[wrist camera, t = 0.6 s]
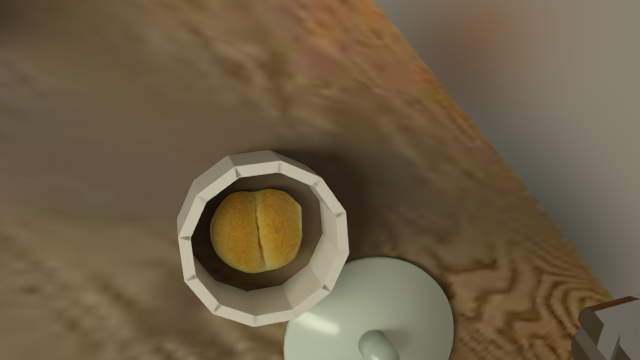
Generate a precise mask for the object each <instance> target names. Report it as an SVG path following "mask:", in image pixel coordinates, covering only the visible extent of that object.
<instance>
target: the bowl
mask: <svg viewBox="0 0 640 360" xmlns="http://www.w3.org/2000/svg"><path fill="white" fill-rule="evenodd" d="M277 172H280V173H282V174H284V175H287V176H289V177H292V178H294V179H297V180H299V181H301V182H304V183H306V184H308V186H309V187H310V188H311V190H312V191H313V192H314V194H315V195H316V196H317V198H318V199H319V201H320V211H321V223H322V236H321V238H320V240H319V242H318V244H317V247H316V249H315V251H314V253H313V255H312V258H311V260H310V262H309V264H308V265H307V266H306V267H304V268H303V269H302V270H300V271H299V272H298V273H296V274H295V275H294V276H293V277H291V278H290V279H289V280H287V281H286V282H285V283H283V284H282V285H280V286H274V287H268V288H263V289H257V290H251V291H245V290H242V289H239V288H236V287H233V286H230V285H227V284H224V283H221V282H218V281H215V280H214V279H213V278H212V276H211V275H210V274H209V273H208V272H207V270H206V269H205V268H204V267H203V266H202V265H201V263H200V262H199V261H198V260H197V259H196V257H195V256H194V255H193V251H192V244H191V236H192V234H193V232H194V229H195V227H196V225H197V223H198V220H199V218H200V216H201V213H202V211H203V209H204V206H205V204H206V202H207V201H209V200H210V199H211V198H213V197H214V196H215V195H217V194H218V193H219V192H221V191H222V190H223V189H225V188H226V187H227V186H229V185H230V184H231V183H233V182H234V181H235V180H237V179H238V178H240V177H247V176H255V175H262V174H270V173H277ZM177 226H178V240H179V246H180V253H181V260H182V267H183V274H184V281H185V282H186V283H187V285H188V286H189V287H190V288H191V289H192V290H193V292H194V293H195V294H196V295H197V296H198V297H199V298H200V300H201V301H202V302H203V303H204V304H205V305H206V307H207V308H208V309H209V310H210V311H211V312H212V313H213V314H215V315H218V316H221V317H225V318H228V319H231V320H234V321H237V322H240V323H243V324H246V325H249V326H253V327H256V326H261V325H267V324H272V323H277V322H282V321H288V320H293V319H297V318H298V317H300V316H301V315H302V314H304V313H305V312H306V311H307V310H309V309H310V308H311V307H313V306H314V305H315V304H316V303H318V302H319V301H320V300H322V299H323V298H324V297H325V296H327V295H328V294H329V293H331V291H332V289H333V287H334V285H335V283H336V281H337V278H338V276H339V274H340V272H341V270H342V268H343V265H344V263H345V261H346V259H347V257H348V255H349V246H348V233H347V220H346V211H345V210H344V208H343V207H342V206H341V204H340V203H339V202H338V200H337V199H336V197H335V196H334V195H333V193H332V192H331V190H330V189H329V188H328V186H327V185H326V183H325V182H324V181H323V179H322V178H321V177H320V176H319V175H317V174H316V173H315V172H314V171H313V170H311V169H310V168H309V167H308V166H306V165H304V164H302V163H299V162H297V161H295V160H292V159H290V158H287V157H285V156H283V155H280V154H278V153H276V152H273V151H271V150H265V151H257V152H249V153H241V154H233V155H227V156H226V157H225V158H223V159H222V160H221V161H219V162H218V163H217V164H215V165H214V166H213V167H211V168H210V169H209V170H207V171H206V172H205V173H203V174H202V175H201V176H199V177H198V178H196V179H195V180H194V181H193V183H192V186H191V188H190V190H189V192H188V195H187V197H186V199H185V202H184V204H183V206H182V209H181V211H180V213H179V216H178V218H177Z"/></svg>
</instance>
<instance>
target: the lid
mask: <svg viewBox="0 0 640 360" xmlns="http://www.w3.org/2000/svg"><path fill="white" fill-rule="evenodd" d="M453 338H454V323H453V315H452V311H451V307H450V305H449V302H448V300H447V297H446V296H445V294H444V292H443V290H442V289H441V288H440V286H439V285H438V284H437V283H436V281H435V280H434V279H432V278H431V277H430V276H429V275H428V274H427V273H426V272H425V271H423V270H422V269H420V268H419V267H417V266H415V265H413V264H411V263H409V262H407V261H404V260H401V259H397V258H391V257H379V256H374V257H365V258H360V259H356V260H352V261H350V262H347V263H344V265H343V268H342V270H341V272H340V274H339V276H338V278H337V281H336V283H335V285H334V287H333V289H332V291H331V293H329V294H328V295H327V296H325V297H324V298H323V299H322V300H320V301H319V302H318V303H316V304H315V305H314V306H313V307H311V308H310V309H309V310H307V311H306V312H305V313H304V314H302V315H301V316H300V317H298V318H297V319H293V320H289V322H288V324H287V328H286V332H285V337H284V360H448V359H449V356H450V353H451V349H452V344H453Z"/></svg>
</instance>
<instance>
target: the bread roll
mask: <svg viewBox="0 0 640 360" xmlns="http://www.w3.org/2000/svg"><path fill="white" fill-rule="evenodd" d="M210 237H211V242H212V245H213V248H214V250H215V251H216V253H217V255H218V256H219V257H220V258H221V259H222V260H223V261H224V262H225V263H226V264H228V265H229V266H231V267H232V268H235V269H238V270H240V271H243V272H246V273H258V272H264V271H268V270H273V269H277V268H280V267H282V266H284V265H286V264H288V263H289V262H291V261H292V260H293V259H294V258H295V256H296V255H297V253H298V250H299V247H300V244H301V240H302V214H301V206H300V205H299V204H298V203H297V202H296V201H294V199H293V198H292V197H291V196H290V195H288V194H287V193H285V192H283V191H279V190H275V189H264V190H259V191H254V192H246V191H238V192H234V193H231V194H230V195H228V196H227V197H226V198H225V199H224V200H223V201H222V202H221V204H220V205H219V206H218V208H217V209H216V211H215V213H214V215H213V218H212V220H211V224H210Z"/></svg>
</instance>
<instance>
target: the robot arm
mask: <svg viewBox="0 0 640 360" xmlns="http://www.w3.org/2000/svg"><path fill="white" fill-rule="evenodd" d="M578 321H579V323H580V324H581V326H582V327H581V328H580V329H579V330H578V331H577V332H576V333H575V334H574V335H573V340H572V345H571V348H572V353H573V359H574V360H640V294H638V295H634V296H628V297H624V298H620V299H616V300H612V301H608V302H604V303H600V304H596V305H592V306H589V307H585V308H584V309H582V310H581V311H580V314H579V317H578Z"/></svg>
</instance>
